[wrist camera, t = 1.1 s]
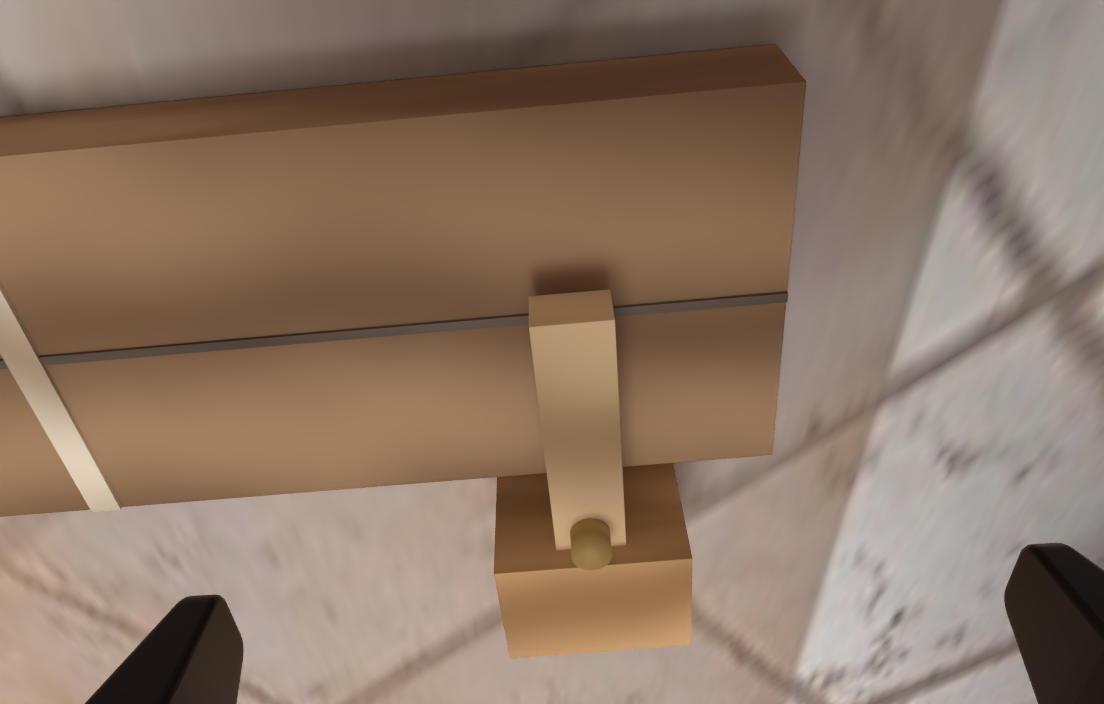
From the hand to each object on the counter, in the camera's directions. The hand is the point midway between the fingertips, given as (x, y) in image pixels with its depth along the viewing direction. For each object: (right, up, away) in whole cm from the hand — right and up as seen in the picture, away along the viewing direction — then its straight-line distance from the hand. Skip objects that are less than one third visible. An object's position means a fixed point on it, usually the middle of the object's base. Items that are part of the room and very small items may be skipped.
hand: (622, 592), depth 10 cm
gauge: (0, +2, +15) cm, 15 cm away
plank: (-8, +4, +12) cm, 16 cm away
